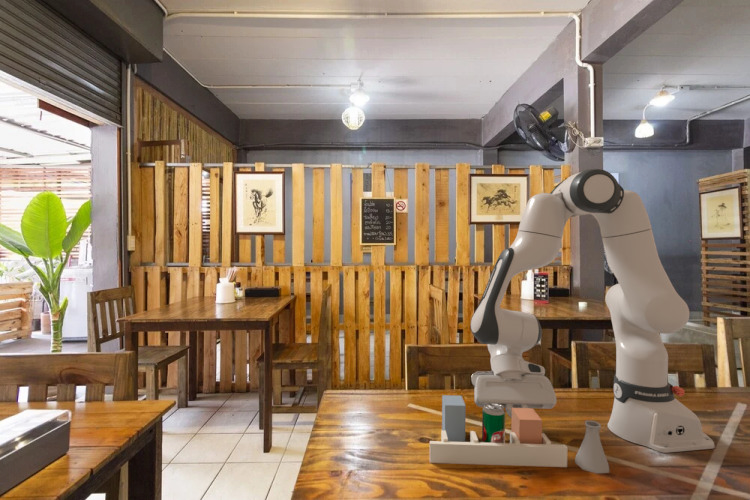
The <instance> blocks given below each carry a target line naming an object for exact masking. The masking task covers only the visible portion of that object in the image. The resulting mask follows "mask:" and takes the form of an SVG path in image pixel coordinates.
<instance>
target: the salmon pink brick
mask: <svg viewBox="0 0 750 500" xmlns="http://www.w3.org/2000/svg"><path fill="white" fill-rule="evenodd" d="M510 432H515V434H516V436H517V437H518V439H519V441H520V444H542V433H543V420H542V418H541V417H540V416H539V415H538V413H537V412H536V410H535V408H512V418H511V431H510Z"/></svg>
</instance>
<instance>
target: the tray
mask: <svg viewBox="0 0 750 500" xmlns="http://www.w3.org/2000/svg"><path fill="white" fill-rule="evenodd" d="M469 432H470V433H469V436H470V437H469V440H470V441H465V442H461V441H448V438H447V434H446V430H442V429H441V431H440V435H441V437H440V439H441V440H440V441H439V440H429V463H430V464H451V465H452V464H453V465H454V464H457V465H458V464H459V465H460V464H461V465H485V466H488V465H489V466H515V467H516V466H517V467H518V466H521V467H524V466H525V467H547V468H548V467H553V468H568V447H567V445H566V444H552V441H551V440H550V439H549V437H547V435H546V433H544V432H542V444H520V441H519V439H518V437H517V436H516V434H515V432H511V431H510V432H509V443H508V442H505V443H484V442H482V441H479V438H478V436H477V434H476V431H475V430H470V431H469Z"/></svg>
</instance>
